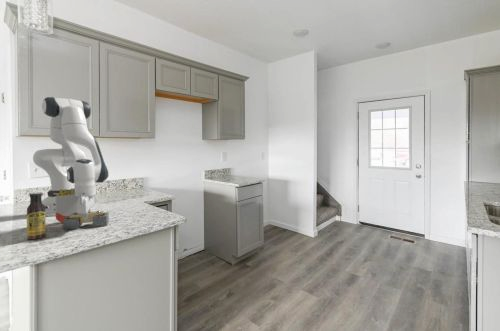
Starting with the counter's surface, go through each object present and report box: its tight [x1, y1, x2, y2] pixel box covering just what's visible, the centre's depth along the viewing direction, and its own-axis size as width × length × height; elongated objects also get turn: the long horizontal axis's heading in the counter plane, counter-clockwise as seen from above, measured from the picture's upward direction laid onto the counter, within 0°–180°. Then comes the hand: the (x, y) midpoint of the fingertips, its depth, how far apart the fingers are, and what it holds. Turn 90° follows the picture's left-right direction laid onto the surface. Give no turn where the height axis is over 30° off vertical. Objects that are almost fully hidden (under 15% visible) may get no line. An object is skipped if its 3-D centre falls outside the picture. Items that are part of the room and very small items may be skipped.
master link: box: [69, 210, 104, 224], centre depth 124 cm, size 14×3×5 cm, turn 113°
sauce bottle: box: [26, 192, 47, 240], centre depth 107 cm, size 6×6×20 cm
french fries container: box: [55, 188, 78, 224], centre depth 130 cm, size 5×11×18 cm, turn 136°
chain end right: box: [92, 212, 110, 228], centre depth 126 cm, size 6×8×5 cm
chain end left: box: [62, 216, 83, 231], centre depth 121 cm, size 6×8×5 cm
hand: (87, 218), depth 124 cm, fingers open, 3 cm apart
